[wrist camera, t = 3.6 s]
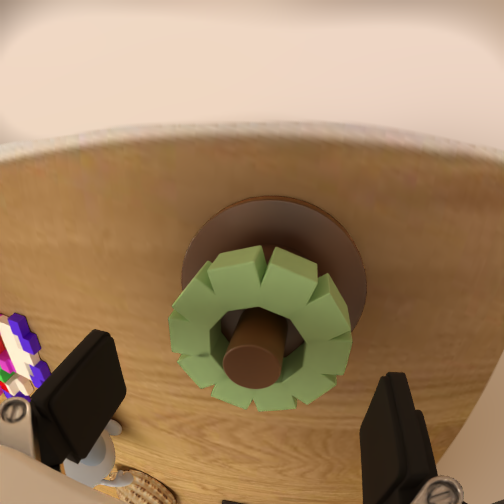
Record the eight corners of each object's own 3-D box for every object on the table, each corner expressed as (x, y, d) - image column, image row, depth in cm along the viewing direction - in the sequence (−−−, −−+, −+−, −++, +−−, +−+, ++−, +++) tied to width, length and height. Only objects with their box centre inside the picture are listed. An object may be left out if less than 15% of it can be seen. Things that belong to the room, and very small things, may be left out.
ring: (361, 255, 12) (368, 273, 11) (330, 393, 15) (330, 419, 13) (180, 236, 13) (162, 251, 12) (189, 373, 16) (177, 396, 14)
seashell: (127, 466, 35) (174, 518, 31) (95, 483, 30) (144, 540, 26) (144, 450, 32) (199, 510, 28) (107, 471, 27) (166, 537, 23)
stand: (378, 206, 15) (420, 257, 9) (345, 364, 19) (351, 454, 13) (185, 189, 17) (113, 226, 10) (191, 344, 20) (148, 421, 14)
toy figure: (161, 437, 25) (111, 541, 14) (139, 455, 28) (95, 541, 17) (67, 370, 25) (-8, 457, 14) (58, 397, 27) (-3, 472, 16)
